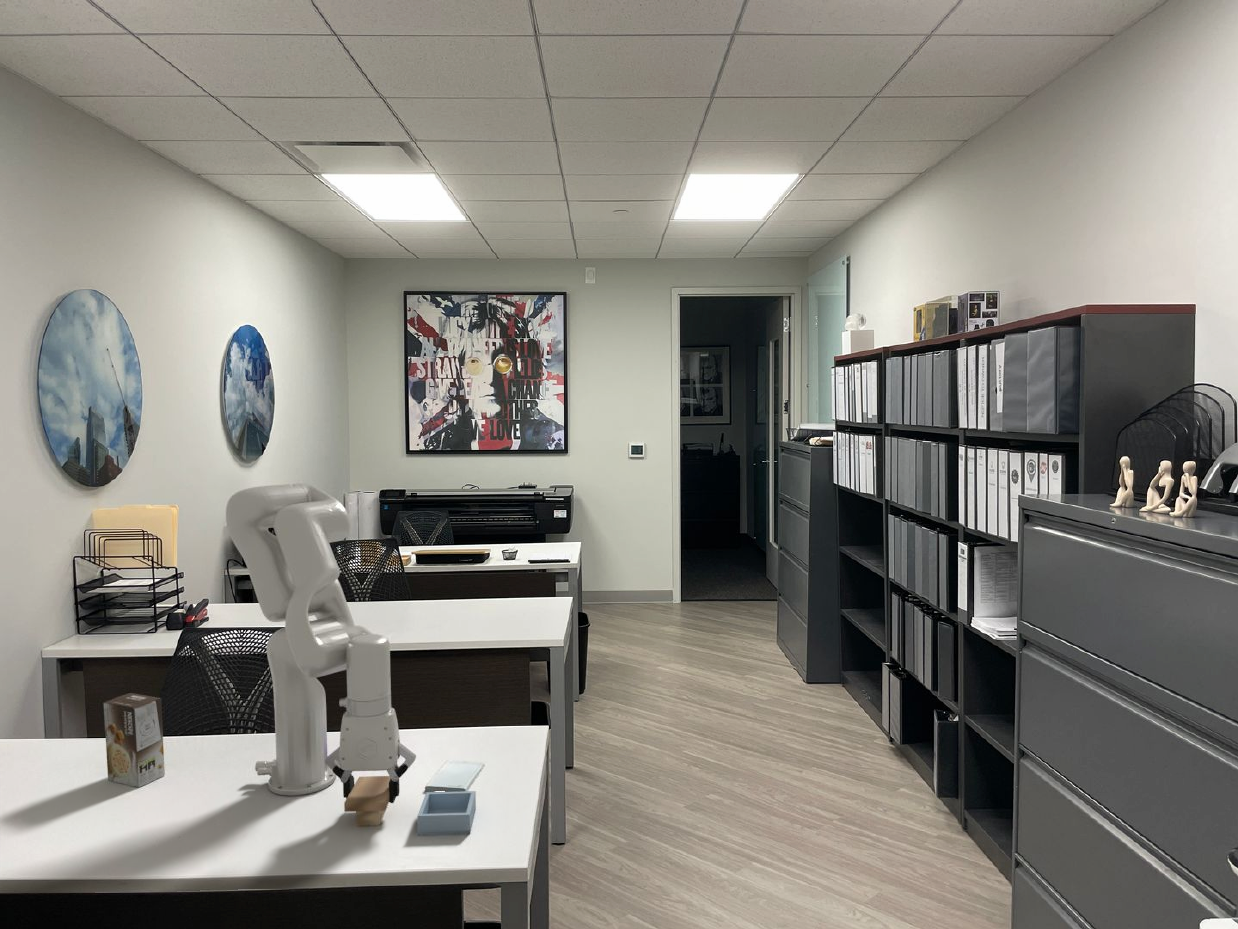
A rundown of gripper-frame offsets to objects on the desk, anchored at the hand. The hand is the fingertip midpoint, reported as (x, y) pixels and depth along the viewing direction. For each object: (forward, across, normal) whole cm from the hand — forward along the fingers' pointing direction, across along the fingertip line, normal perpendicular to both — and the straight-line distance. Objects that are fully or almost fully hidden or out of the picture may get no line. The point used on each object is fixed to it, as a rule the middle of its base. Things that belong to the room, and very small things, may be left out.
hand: (371, 799), depth 156 cm
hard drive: (+4, +13, +15) cm, 20 cm away
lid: (0, 0, 0) cm, 0 cm away
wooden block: (+3, 0, 0) cm, 3 cm away
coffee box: (+3, -51, +19) cm, 55 cm away
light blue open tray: (+3, +14, -3) cm, 15 cm away
